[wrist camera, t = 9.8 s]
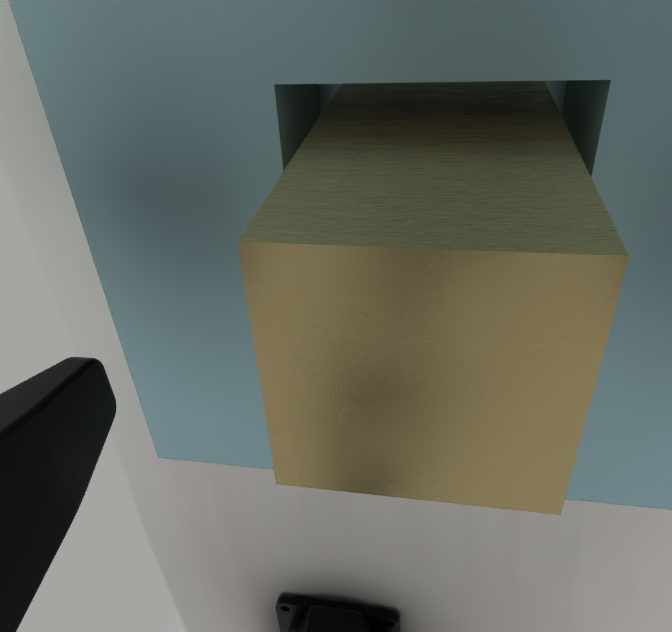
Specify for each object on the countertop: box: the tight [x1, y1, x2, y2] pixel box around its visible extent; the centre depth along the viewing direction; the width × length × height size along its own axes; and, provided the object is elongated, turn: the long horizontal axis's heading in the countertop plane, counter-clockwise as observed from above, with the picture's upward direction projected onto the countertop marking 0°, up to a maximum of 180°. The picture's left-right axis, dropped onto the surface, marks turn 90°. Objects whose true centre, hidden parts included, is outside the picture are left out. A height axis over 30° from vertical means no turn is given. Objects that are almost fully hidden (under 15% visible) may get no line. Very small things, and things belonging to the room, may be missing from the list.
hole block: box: [9, 0, 672, 510], centre depth 14 cm, size 16×16×5 cm
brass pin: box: [237, 81, 629, 515], centre depth 12 cm, size 5×5×9 cm
